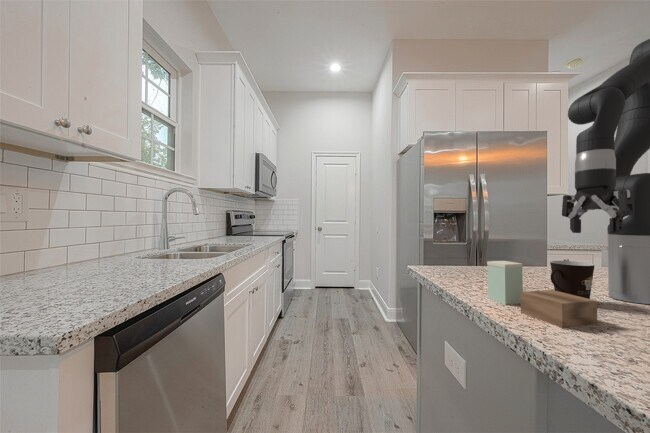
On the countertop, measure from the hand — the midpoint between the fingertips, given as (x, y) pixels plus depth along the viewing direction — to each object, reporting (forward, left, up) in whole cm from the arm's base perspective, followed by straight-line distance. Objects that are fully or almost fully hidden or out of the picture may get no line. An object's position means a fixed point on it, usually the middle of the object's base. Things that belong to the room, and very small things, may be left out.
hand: (594, 233), depth 70 cm
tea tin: (+20, -7, -18) cm, 28 cm away
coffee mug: (+5, -3, -18) cm, 19 cm away
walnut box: (+20, +6, -18) cm, 28 cm away
